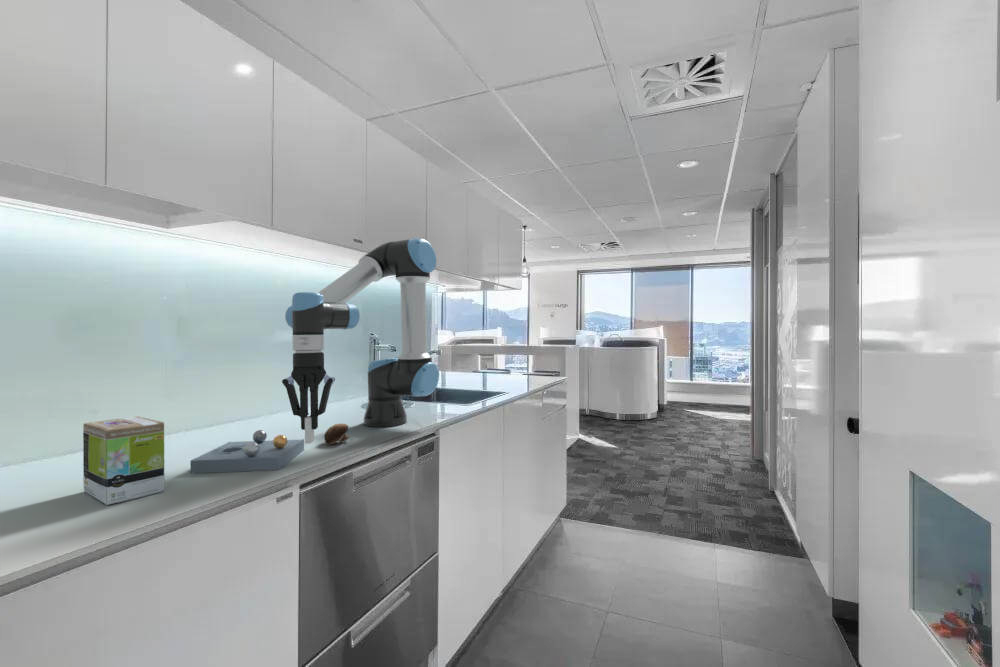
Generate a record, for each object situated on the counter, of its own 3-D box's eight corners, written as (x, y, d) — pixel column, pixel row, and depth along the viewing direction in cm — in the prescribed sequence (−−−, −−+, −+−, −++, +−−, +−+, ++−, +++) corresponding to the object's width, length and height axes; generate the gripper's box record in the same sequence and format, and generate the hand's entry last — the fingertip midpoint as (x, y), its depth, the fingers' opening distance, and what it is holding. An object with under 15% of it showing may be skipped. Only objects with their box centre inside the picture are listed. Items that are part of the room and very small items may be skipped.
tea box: (167, 491, 94) (165, 421, 94) (105, 507, 86) (104, 430, 86) (140, 478, 103) (139, 414, 103) (81, 492, 94) (80, 422, 94)
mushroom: (359, 429, 137) (346, 414, 135) (348, 445, 130) (334, 429, 128) (340, 440, 139) (327, 425, 137) (329, 456, 132) (314, 441, 130)
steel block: (268, 440, 124) (268, 428, 124) (263, 443, 121) (263, 431, 121) (256, 441, 124) (255, 429, 124) (250, 444, 121) (250, 431, 121)
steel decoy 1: (262, 454, 111) (262, 440, 111) (256, 457, 108) (255, 443, 108) (247, 454, 111) (247, 440, 111) (241, 458, 107) (241, 444, 107)
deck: (304, 450, 126) (303, 439, 126) (278, 469, 108) (278, 457, 108) (229, 452, 124) (228, 441, 124) (190, 473, 106) (190, 460, 106)
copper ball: (289, 446, 118) (289, 433, 118) (284, 449, 115) (284, 436, 115) (276, 446, 118) (275, 433, 118) (270, 450, 115) (270, 436, 115)
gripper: (276, 352, 113) (278, 446, 113) (330, 352, 114) (331, 444, 114) (287, 351, 120) (289, 439, 120) (337, 350, 121) (339, 437, 121)
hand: (309, 441), depth 117 cm, fingers closed
